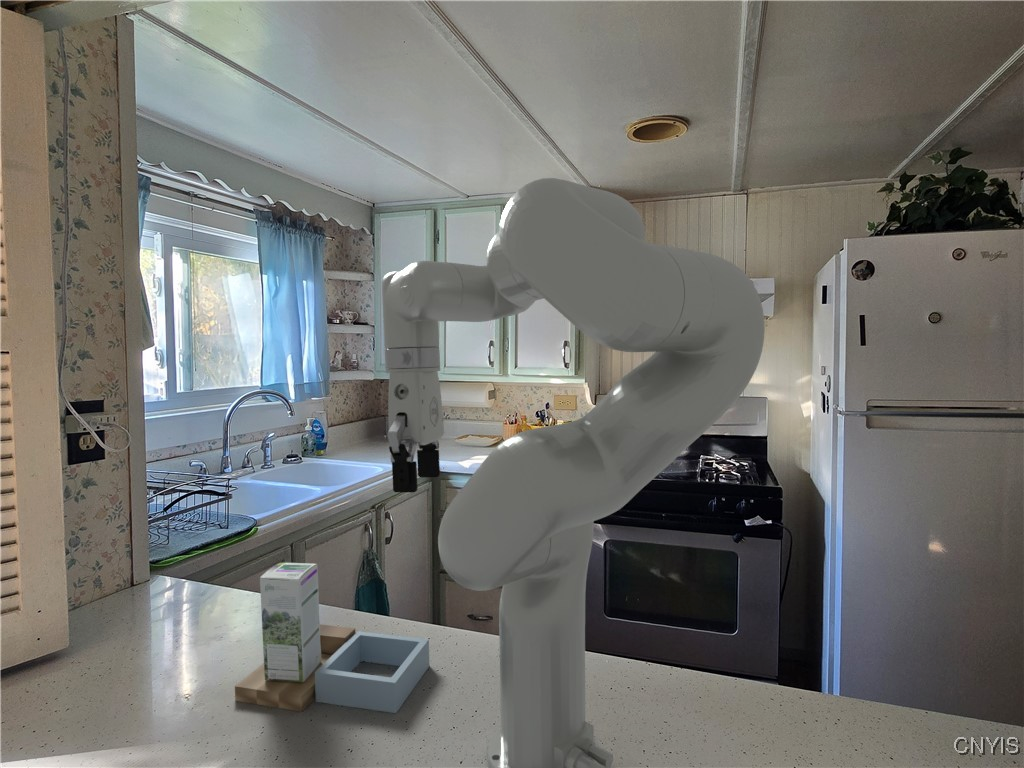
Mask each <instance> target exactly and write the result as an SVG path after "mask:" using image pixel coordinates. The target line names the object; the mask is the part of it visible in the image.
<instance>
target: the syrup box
mask: <svg viewBox="0 0 1024 768" xmlns="http://www.w3.org/2000/svg"><path fill="white" fill-rule="evenodd" d="M318 567H319V566H318V563H309V562H307V563H305V562H300V563H299V562H279V563H277V564H275V565H273V566H272V567H270V568H269V569H267V570H266V571H265V572H264V573H263V574H262V575H261V576H260V577H259V588H260V589H259V590H260V605H261V606H260V607H261V608H260V609H261V628H262V629H261V630H262V632H261V633H262V648H263V650H262V651H263V663H264V674H265V680H270V681H286V682H304V681H305V680H306V679H307V678H308V677H309V676H310V675H311V673H312V672H313V671H314V670H315V669H316V667H317V666H318V665H319V664H320V662H321V645H320V601H319V599H320V597H319V591H320V590H319V589H320V588H319V571H318V570H319V568H318Z"/></svg>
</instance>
